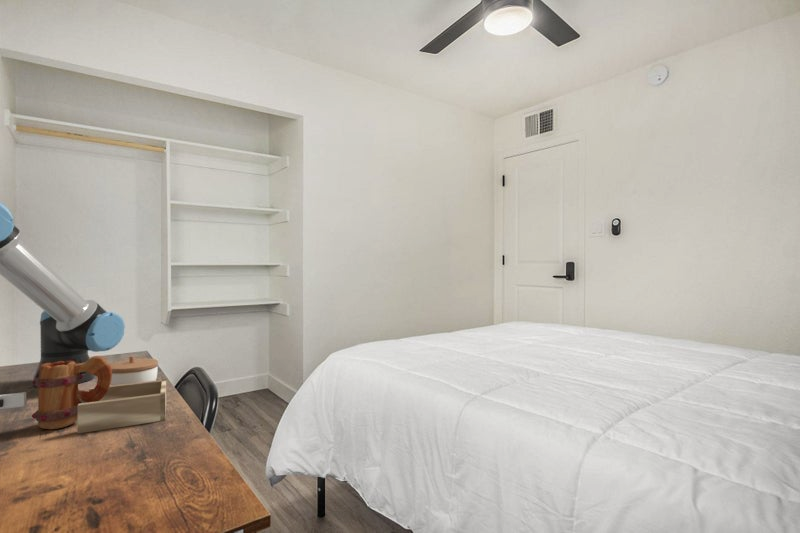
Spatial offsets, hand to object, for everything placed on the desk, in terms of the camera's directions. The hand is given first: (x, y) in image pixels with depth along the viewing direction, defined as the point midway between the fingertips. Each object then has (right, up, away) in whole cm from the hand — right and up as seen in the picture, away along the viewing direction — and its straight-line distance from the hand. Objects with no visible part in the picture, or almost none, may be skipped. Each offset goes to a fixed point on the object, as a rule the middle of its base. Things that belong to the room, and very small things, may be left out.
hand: (24, 399), depth 92 cm
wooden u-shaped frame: (+16, -7, +9) cm, 20 cm away
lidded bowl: (+8, -7, +25) cm, 27 cm away
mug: (+7, -7, +4) cm, 11 cm away
